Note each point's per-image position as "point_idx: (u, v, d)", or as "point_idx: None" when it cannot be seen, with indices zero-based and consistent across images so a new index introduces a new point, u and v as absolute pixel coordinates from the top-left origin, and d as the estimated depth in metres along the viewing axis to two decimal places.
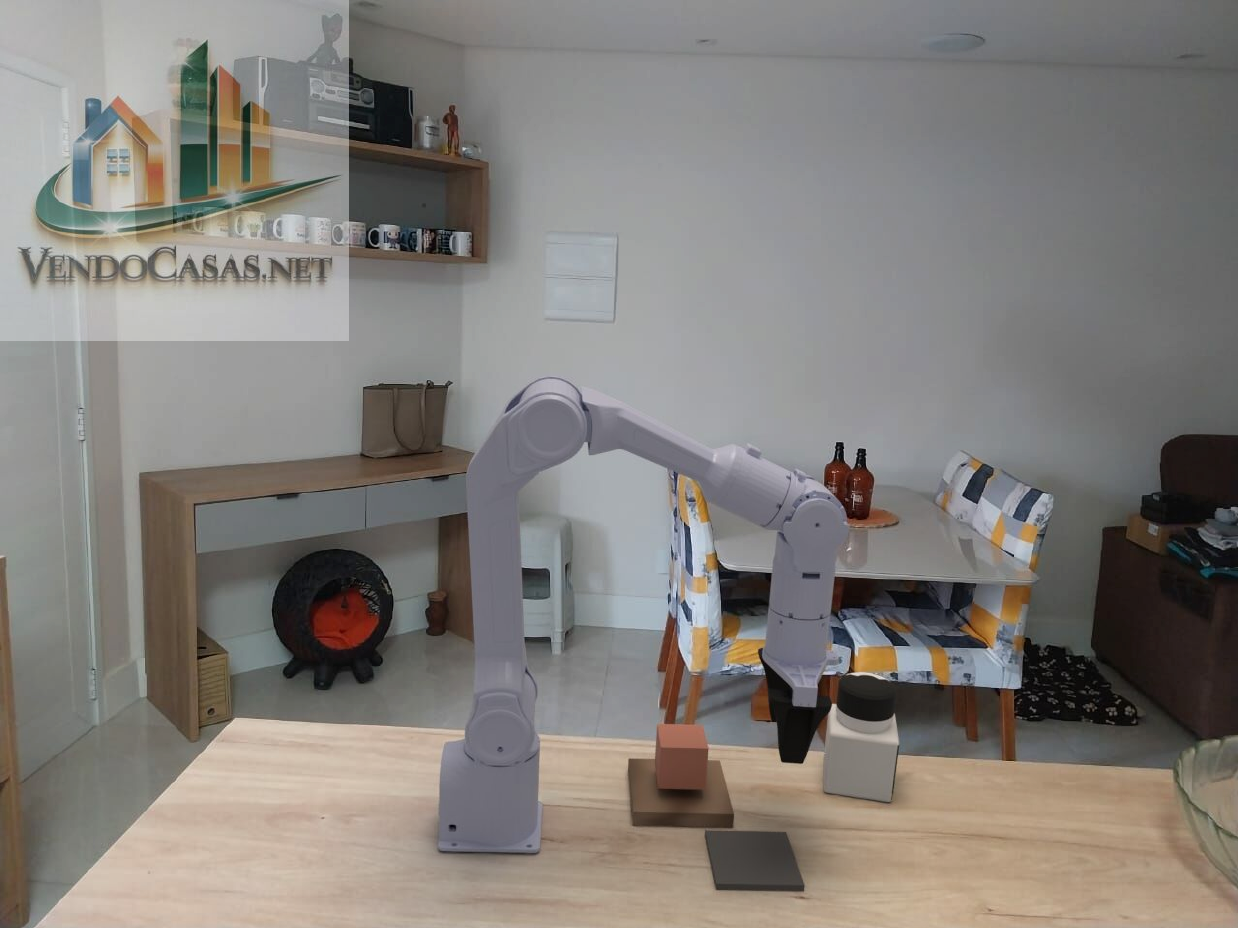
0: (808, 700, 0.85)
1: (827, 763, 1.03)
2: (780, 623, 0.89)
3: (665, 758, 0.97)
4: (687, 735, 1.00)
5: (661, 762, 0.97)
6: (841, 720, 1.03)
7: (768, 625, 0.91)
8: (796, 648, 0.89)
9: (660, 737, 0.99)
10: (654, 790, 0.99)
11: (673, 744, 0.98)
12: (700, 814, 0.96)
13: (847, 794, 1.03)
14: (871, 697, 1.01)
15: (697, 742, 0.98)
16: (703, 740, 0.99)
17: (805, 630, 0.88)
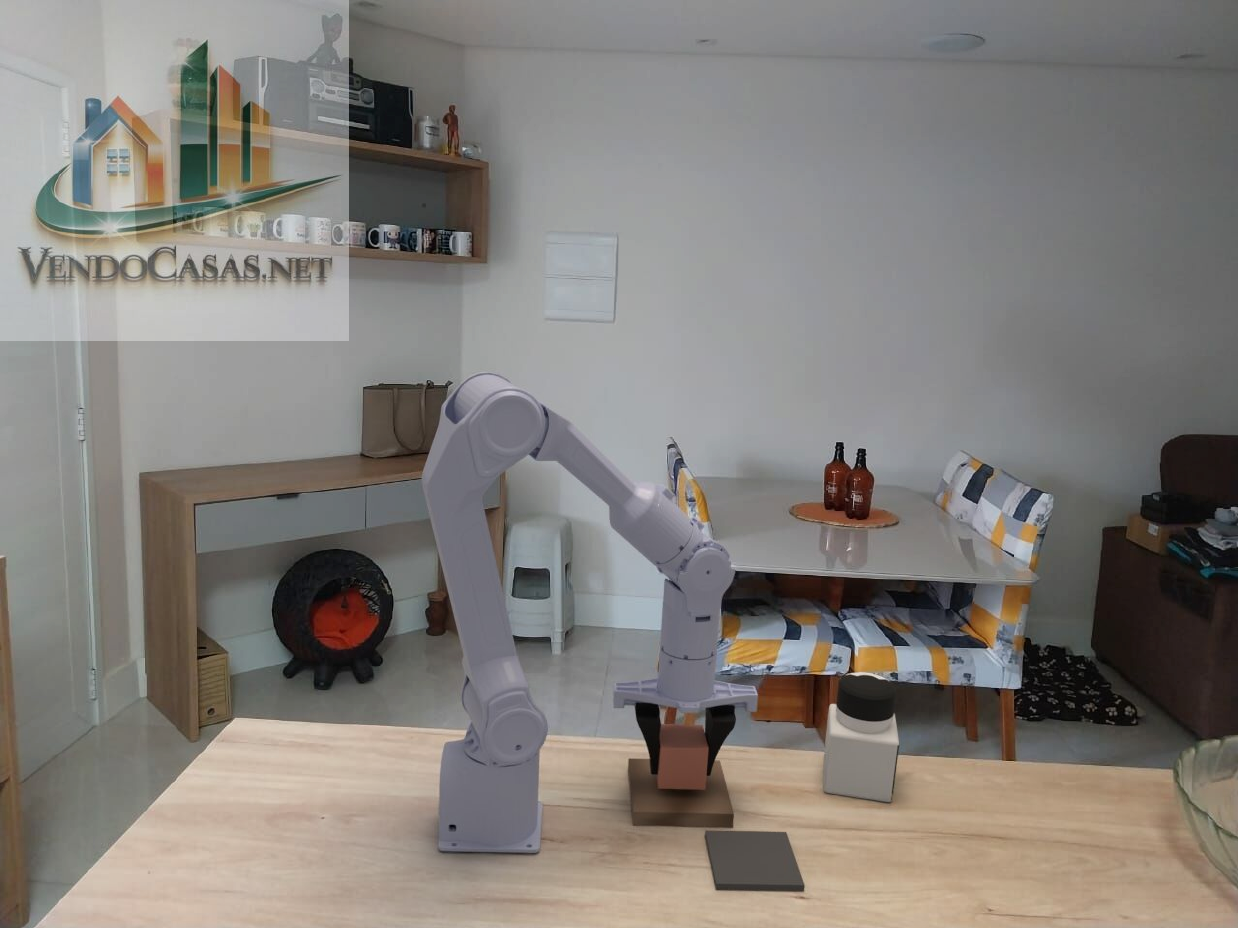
0: (613, 699, 0.98)
1: (827, 763, 1.03)
2: None
3: (665, 758, 0.97)
4: (687, 735, 1.00)
5: (661, 762, 0.97)
6: (841, 720, 1.03)
7: None
8: (658, 671, 0.98)
9: (660, 737, 0.99)
10: (654, 790, 0.99)
11: (673, 743, 0.98)
12: (700, 814, 0.96)
13: (847, 794, 1.03)
14: (871, 697, 1.01)
15: (697, 742, 0.98)
16: (703, 740, 0.99)
17: (659, 657, 0.97)
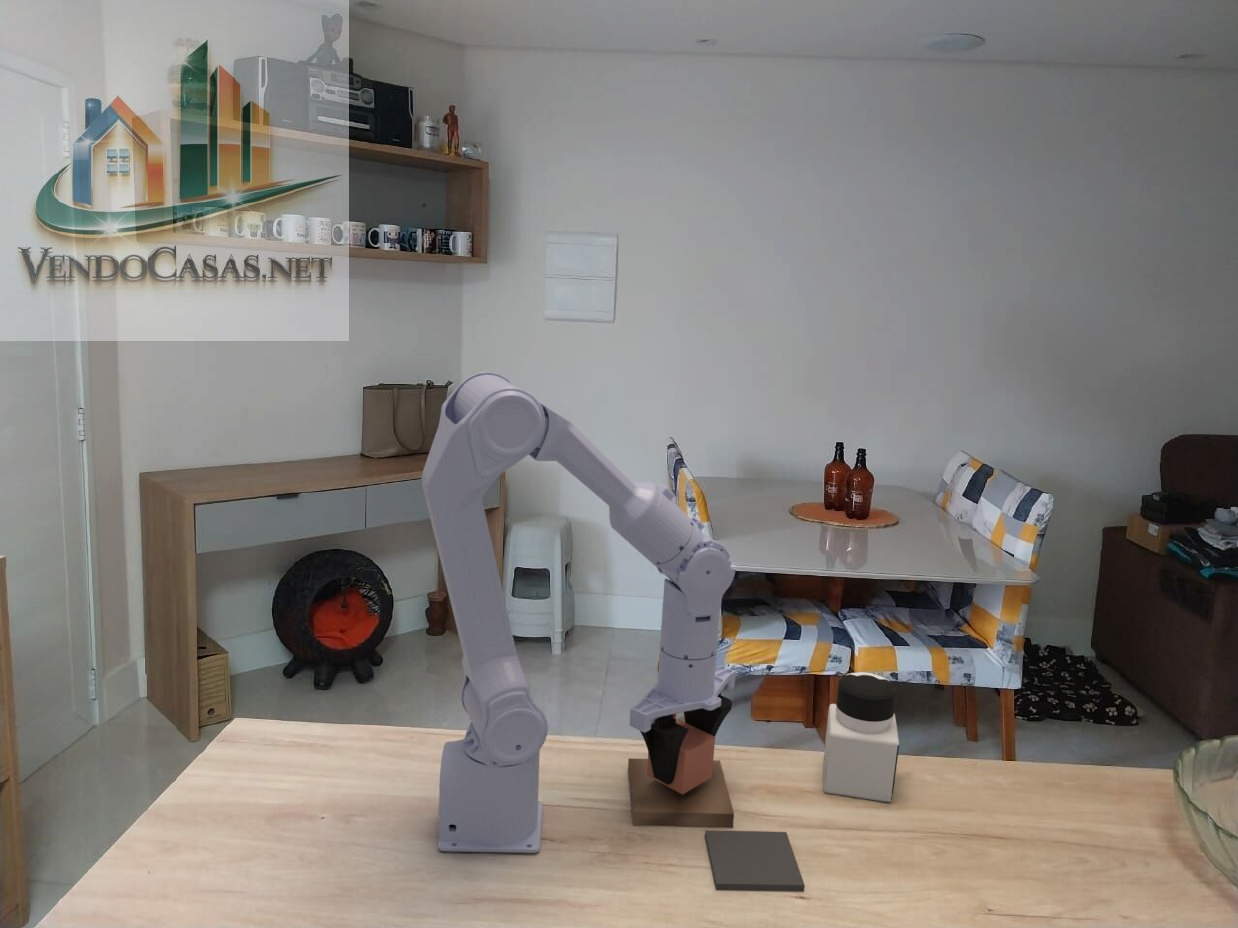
0: (639, 724, 0.93)
1: (827, 763, 1.03)
2: None
3: (688, 762, 0.97)
4: None
5: (685, 767, 0.97)
6: (841, 720, 1.03)
7: None
8: (665, 680, 0.96)
9: None
10: (654, 790, 0.99)
11: (688, 745, 0.98)
12: (700, 814, 0.96)
13: (847, 794, 1.03)
14: (871, 697, 1.01)
15: (700, 735, 1.00)
16: (701, 732, 1.00)
17: (671, 665, 0.95)
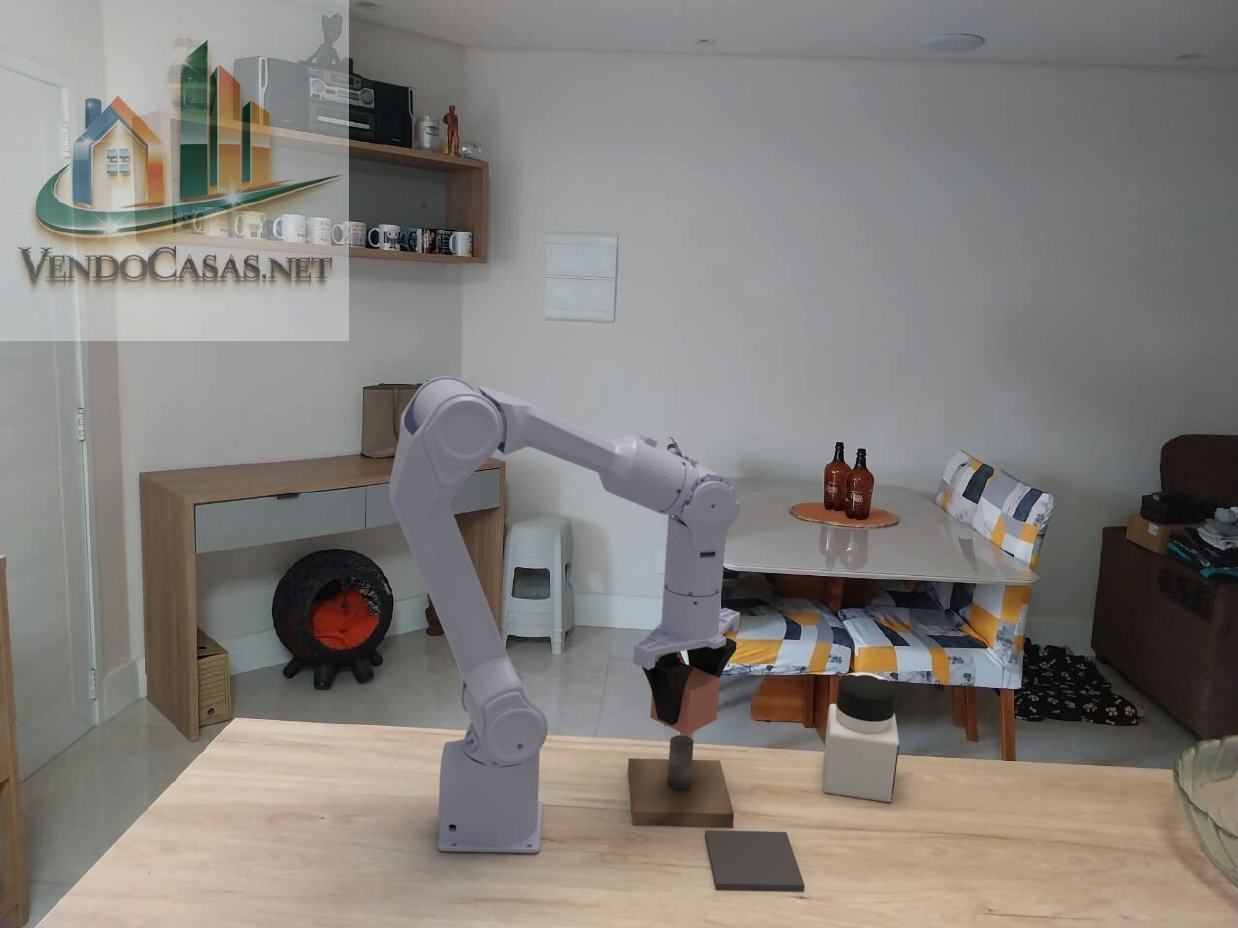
0: (643, 661, 0.92)
1: (827, 763, 1.03)
2: None
3: (692, 702, 0.95)
4: (689, 675, 0.98)
5: (689, 707, 0.95)
6: (841, 720, 1.03)
7: None
8: (669, 618, 0.95)
9: None
10: (654, 790, 0.99)
11: (693, 685, 0.96)
12: (700, 814, 0.96)
13: (847, 794, 1.03)
14: (871, 697, 1.01)
15: (704, 677, 0.98)
16: (705, 673, 0.99)
17: (675, 603, 0.94)
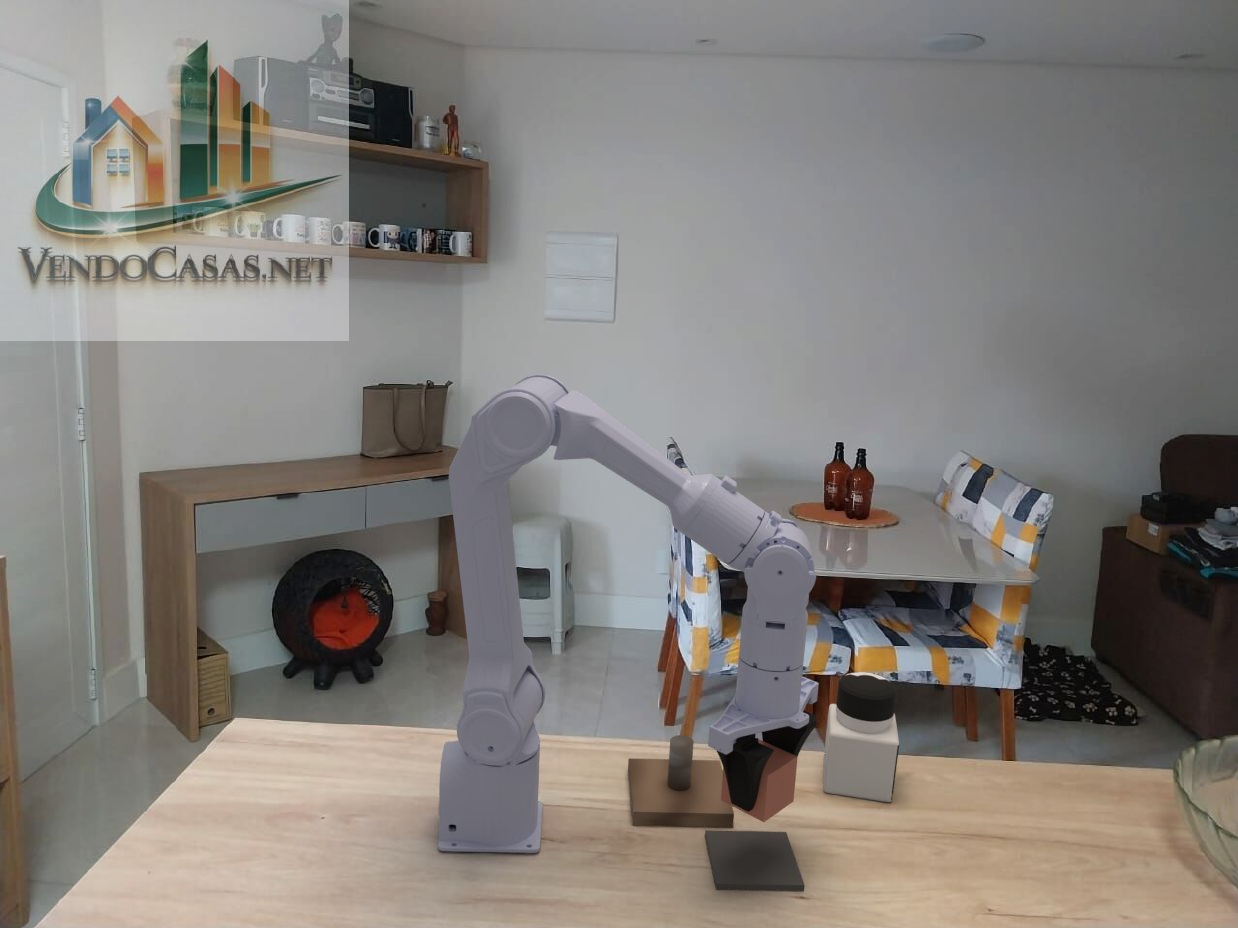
0: (719, 745, 0.82)
1: (827, 763, 1.03)
2: None
3: (770, 786, 0.86)
4: None
5: (767, 792, 0.86)
6: (841, 720, 1.03)
7: None
8: (746, 695, 0.85)
9: None
10: (654, 790, 0.99)
11: (770, 767, 0.87)
12: (700, 814, 0.96)
13: (847, 794, 1.03)
14: (871, 697, 1.01)
15: (781, 755, 0.89)
16: (781, 751, 0.90)
17: (753, 678, 0.84)
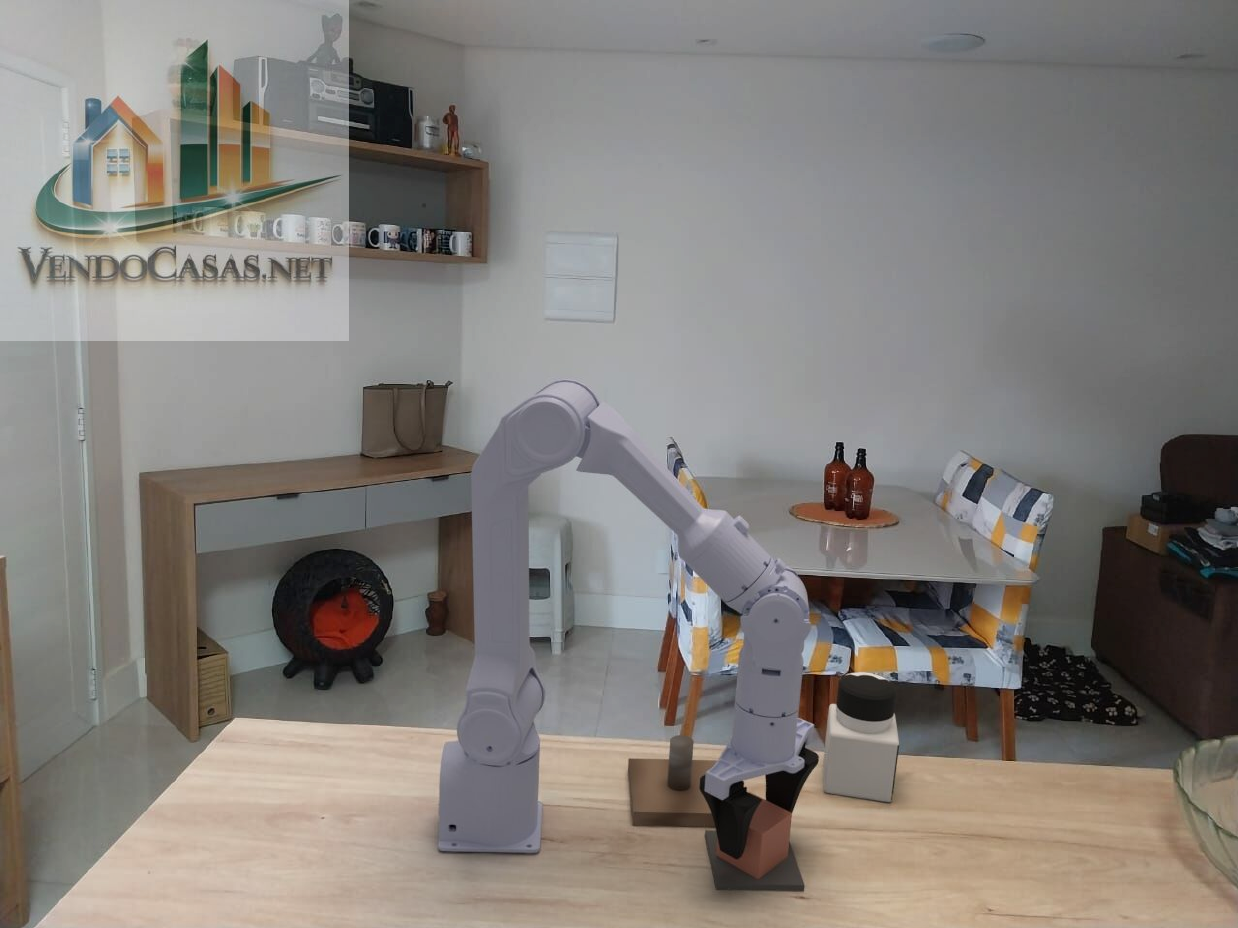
0: (716, 790, 0.83)
1: (827, 763, 1.03)
2: None
3: (764, 843, 0.87)
4: (758, 809, 0.91)
5: (761, 850, 0.87)
6: (841, 720, 1.03)
7: None
8: (742, 739, 0.86)
9: None
10: (654, 790, 0.99)
11: (764, 824, 0.88)
12: (700, 814, 0.96)
13: (847, 794, 1.03)
14: (871, 697, 1.01)
15: (775, 812, 0.90)
16: (776, 807, 0.91)
17: (749, 723, 0.85)
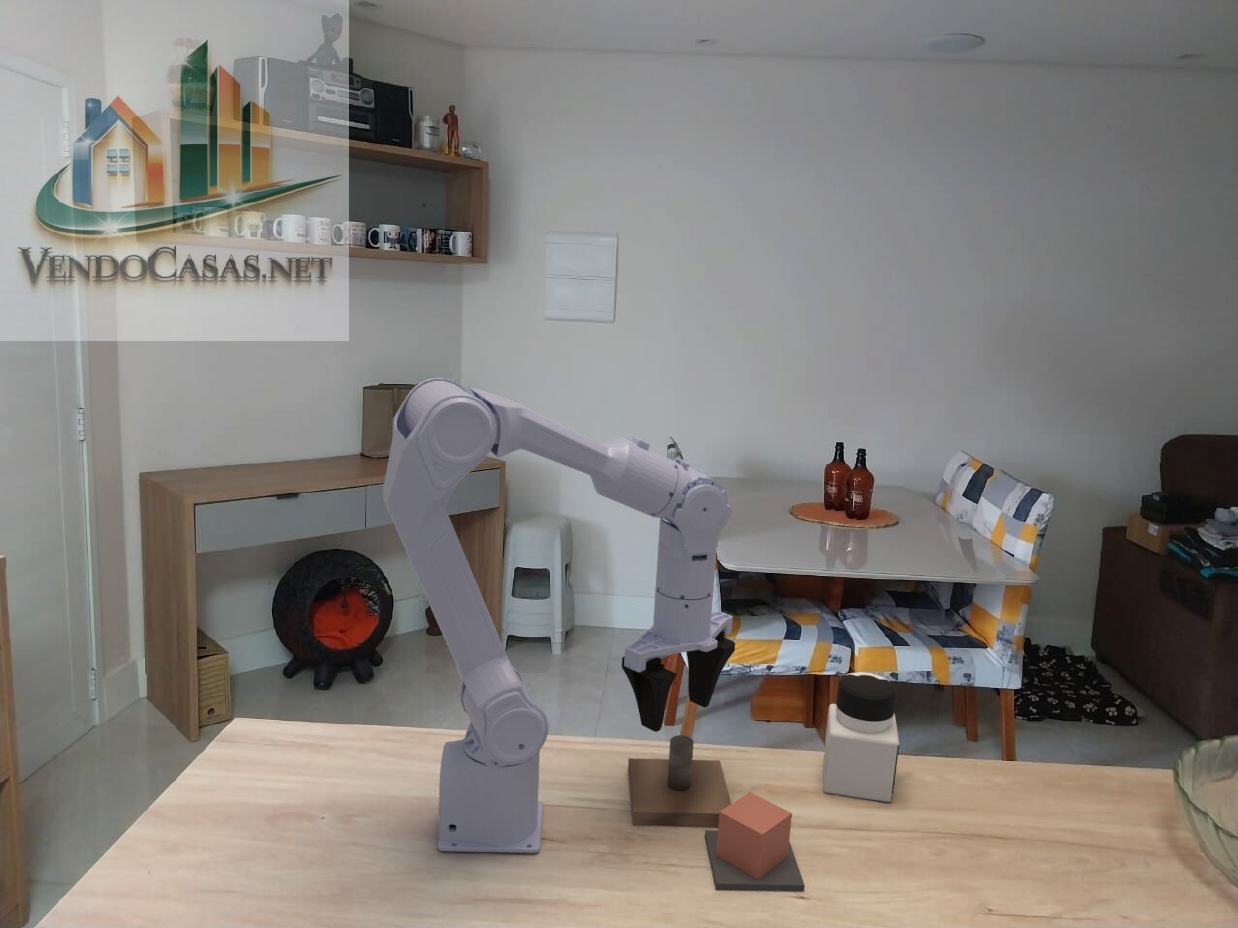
0: (633, 664, 0.92)
1: (827, 763, 1.03)
2: None
3: (764, 843, 0.87)
4: (758, 809, 0.91)
5: (761, 850, 0.87)
6: (841, 720, 1.03)
7: None
8: (660, 621, 0.95)
9: (744, 824, 0.88)
10: (654, 790, 0.99)
11: (764, 824, 0.88)
12: (700, 814, 0.96)
13: (847, 794, 1.03)
14: (871, 697, 1.01)
15: (775, 812, 0.90)
16: (776, 807, 0.91)
17: (666, 606, 0.94)
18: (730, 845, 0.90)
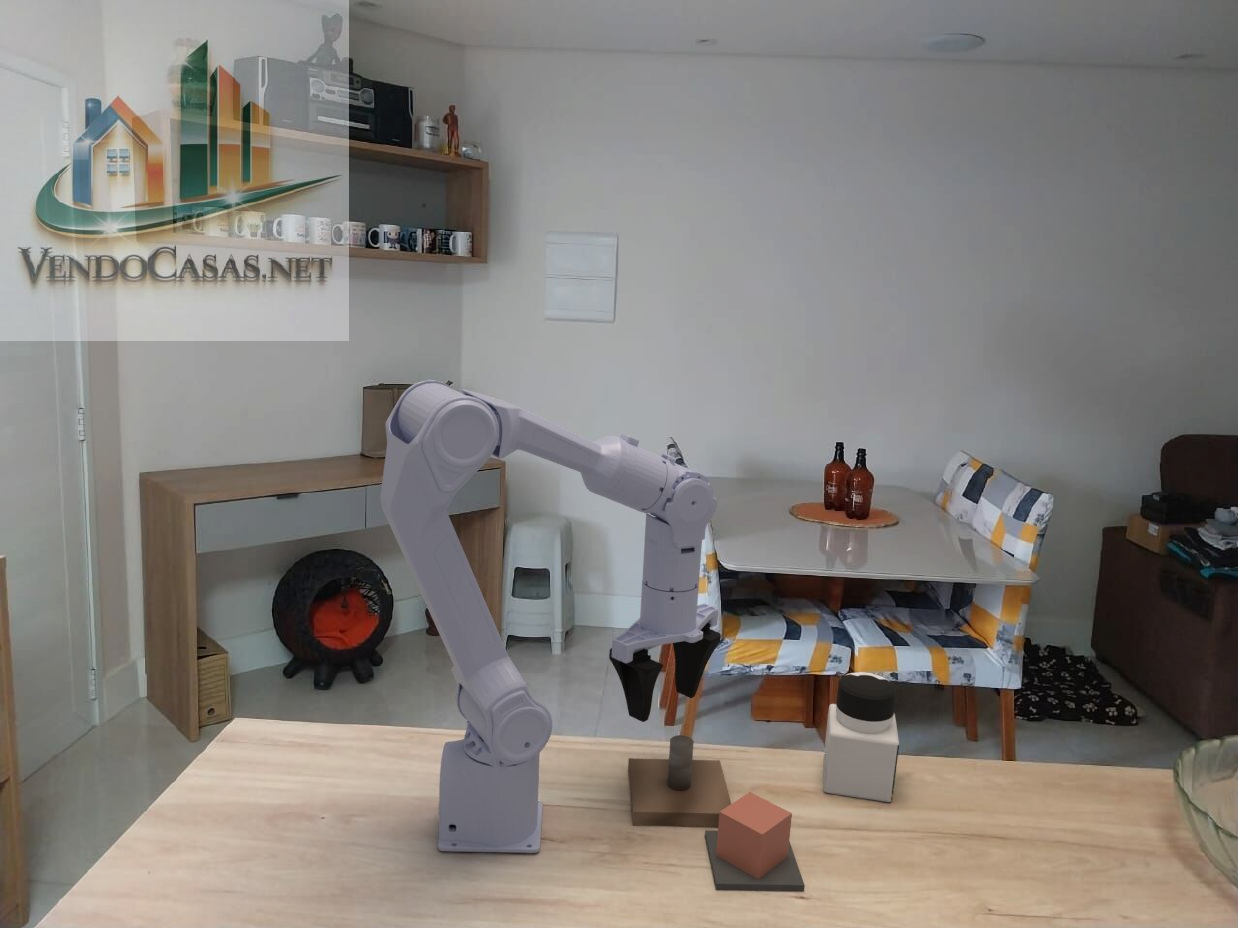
0: (621, 655, 0.94)
1: (827, 763, 1.03)
2: None
3: (764, 843, 0.87)
4: (758, 809, 0.91)
5: (761, 850, 0.87)
6: (841, 720, 1.03)
7: None
8: (647, 613, 0.97)
9: (744, 824, 0.88)
10: (654, 790, 0.99)
11: (764, 824, 0.88)
12: (700, 814, 0.96)
13: (847, 794, 1.03)
14: (871, 697, 1.01)
15: (775, 812, 0.90)
16: (776, 807, 0.91)
17: (653, 598, 0.96)
18: (730, 845, 0.90)
